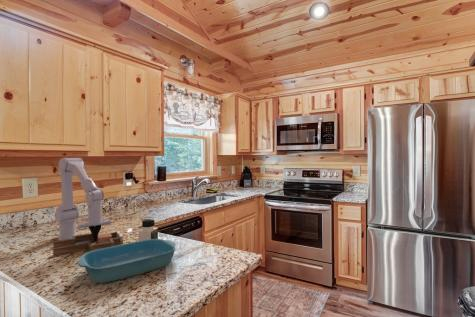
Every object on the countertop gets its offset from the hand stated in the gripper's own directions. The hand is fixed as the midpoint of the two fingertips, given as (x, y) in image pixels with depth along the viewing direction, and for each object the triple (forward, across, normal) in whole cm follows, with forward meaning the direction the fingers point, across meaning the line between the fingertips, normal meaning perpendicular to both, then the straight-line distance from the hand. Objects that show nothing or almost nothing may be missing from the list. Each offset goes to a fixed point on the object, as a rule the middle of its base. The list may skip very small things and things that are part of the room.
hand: (95, 240), depth 130 cm
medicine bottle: (+2, +23, -13) cm, 26 cm away
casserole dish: (+2, +9, -39) cm, 40 cm away
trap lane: (+2, -3, 0) cm, 4 cm away
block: (+2, +4, 0) cm, 5 cm away
